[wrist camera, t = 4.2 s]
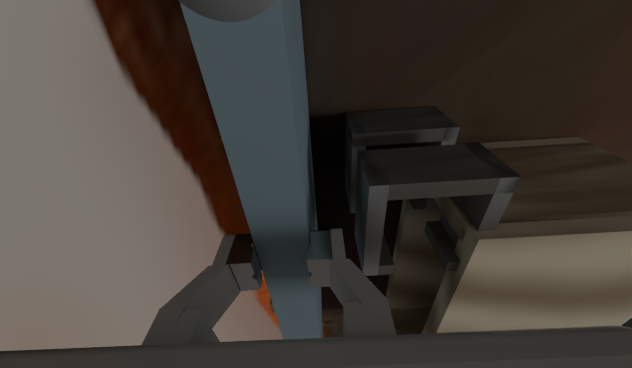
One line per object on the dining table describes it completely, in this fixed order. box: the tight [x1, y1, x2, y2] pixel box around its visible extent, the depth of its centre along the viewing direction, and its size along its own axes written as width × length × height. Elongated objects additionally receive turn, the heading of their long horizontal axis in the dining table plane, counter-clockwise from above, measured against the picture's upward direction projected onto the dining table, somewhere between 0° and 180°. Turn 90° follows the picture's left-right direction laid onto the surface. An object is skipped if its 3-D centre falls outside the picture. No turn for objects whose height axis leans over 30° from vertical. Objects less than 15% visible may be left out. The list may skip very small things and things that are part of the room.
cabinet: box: [345, 107, 632, 335], centre depth 20 cm, size 25×17×9 cm
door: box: [178, 0, 322, 339], centre depth 14 cm, size 23×4×10 cm, turn 4°
